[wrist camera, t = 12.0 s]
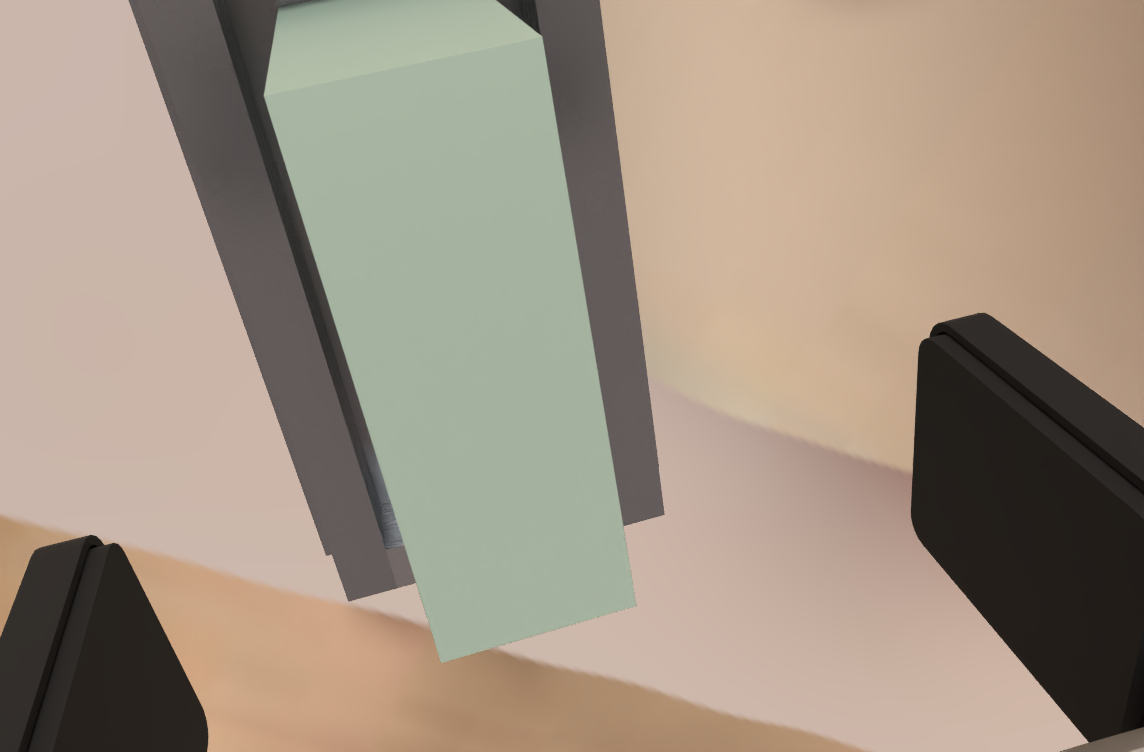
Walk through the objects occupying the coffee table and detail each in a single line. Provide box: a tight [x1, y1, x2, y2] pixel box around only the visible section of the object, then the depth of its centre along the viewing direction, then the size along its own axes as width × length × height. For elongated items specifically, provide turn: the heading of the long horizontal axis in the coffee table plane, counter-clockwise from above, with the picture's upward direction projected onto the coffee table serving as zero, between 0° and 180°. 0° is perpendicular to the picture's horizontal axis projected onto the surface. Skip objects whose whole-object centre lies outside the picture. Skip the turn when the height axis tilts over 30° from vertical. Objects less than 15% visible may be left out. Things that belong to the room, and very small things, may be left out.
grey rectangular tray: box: [129, 0, 664, 601], centre depth 21 cm, size 16×9×3 cm, turn 9°
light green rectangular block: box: [264, 0, 636, 663], centre depth 18 cm, size 10×4×8 cm, turn 10°
